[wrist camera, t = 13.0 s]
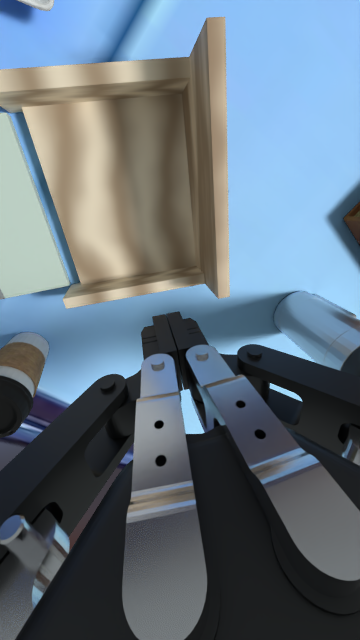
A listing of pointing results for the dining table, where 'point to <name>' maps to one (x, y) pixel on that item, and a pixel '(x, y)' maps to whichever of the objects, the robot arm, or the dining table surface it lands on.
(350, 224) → the diary
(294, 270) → the dining table surface
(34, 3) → the square plate
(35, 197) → the panel
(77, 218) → the tray
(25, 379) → the coffee cup
